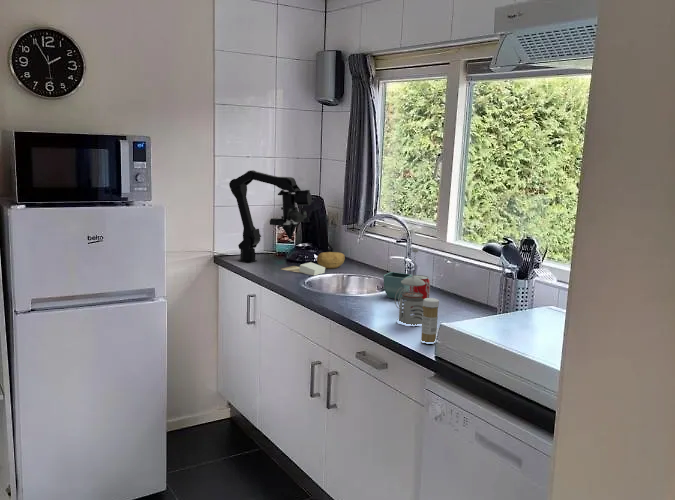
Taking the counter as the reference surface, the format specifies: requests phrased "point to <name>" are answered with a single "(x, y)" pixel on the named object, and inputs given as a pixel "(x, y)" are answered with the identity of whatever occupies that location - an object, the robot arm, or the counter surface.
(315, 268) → the tile
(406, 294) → the french press
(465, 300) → the counter surface
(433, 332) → the sprinkles bottle
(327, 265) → the potato
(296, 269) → the board
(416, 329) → the counter surface
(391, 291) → the flower pot
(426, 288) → the soda can
